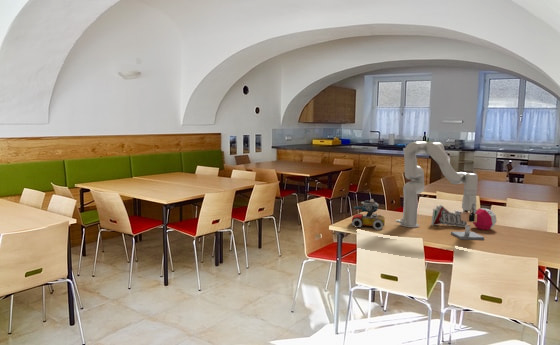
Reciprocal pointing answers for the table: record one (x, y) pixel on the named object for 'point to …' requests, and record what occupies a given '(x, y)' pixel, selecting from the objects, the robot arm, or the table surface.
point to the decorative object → (485, 219)
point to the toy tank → (368, 215)
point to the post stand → (467, 234)
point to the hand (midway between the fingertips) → (468, 219)
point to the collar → (467, 217)
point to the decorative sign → (447, 217)
